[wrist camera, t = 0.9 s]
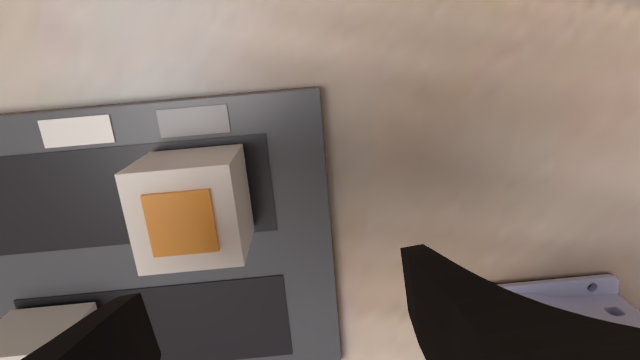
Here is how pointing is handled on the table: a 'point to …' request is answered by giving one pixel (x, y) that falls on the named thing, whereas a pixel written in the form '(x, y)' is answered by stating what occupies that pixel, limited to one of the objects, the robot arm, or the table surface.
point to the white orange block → (37, 327)
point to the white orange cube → (187, 209)
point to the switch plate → (112, 235)
